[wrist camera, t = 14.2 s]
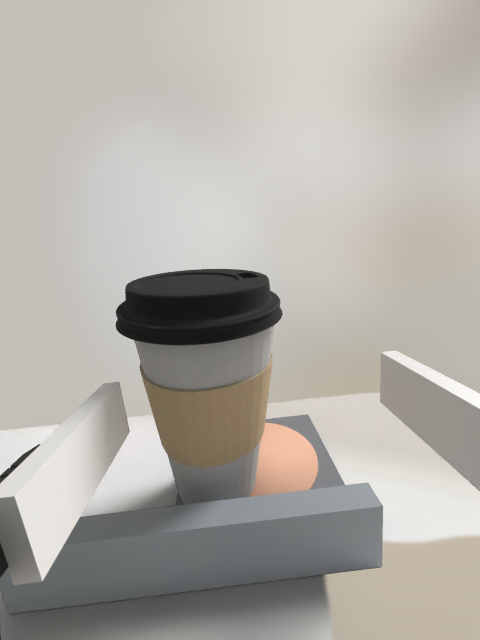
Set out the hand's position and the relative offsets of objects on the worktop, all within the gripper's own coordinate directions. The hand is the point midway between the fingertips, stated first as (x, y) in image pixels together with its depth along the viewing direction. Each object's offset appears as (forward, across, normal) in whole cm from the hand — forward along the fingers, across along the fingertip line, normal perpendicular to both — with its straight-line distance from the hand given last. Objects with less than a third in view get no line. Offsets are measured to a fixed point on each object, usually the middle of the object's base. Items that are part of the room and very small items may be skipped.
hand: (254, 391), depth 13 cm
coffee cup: (+5, -3, -9) cm, 11 cm away
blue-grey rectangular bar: (0, -4, -10) cm, 11 cm away
